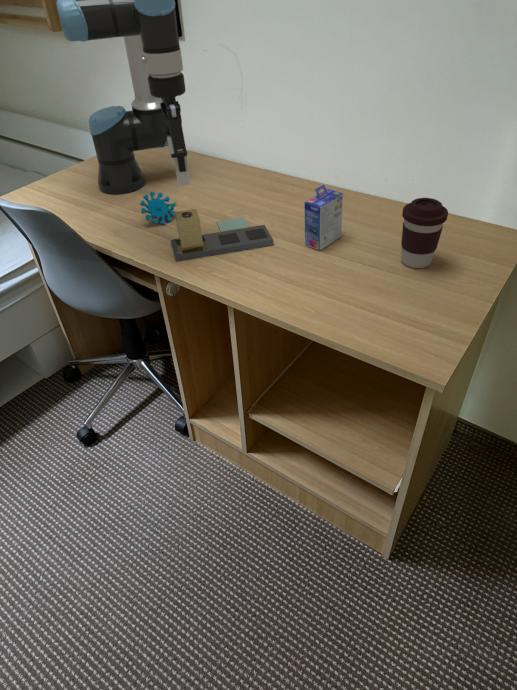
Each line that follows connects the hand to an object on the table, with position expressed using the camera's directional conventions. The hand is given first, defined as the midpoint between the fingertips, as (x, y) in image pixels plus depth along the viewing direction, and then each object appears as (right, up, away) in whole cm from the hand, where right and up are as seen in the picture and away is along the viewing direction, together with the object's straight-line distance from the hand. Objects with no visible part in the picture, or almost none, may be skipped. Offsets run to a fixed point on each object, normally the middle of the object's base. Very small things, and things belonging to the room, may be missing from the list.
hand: (180, 173), depth 117 cm
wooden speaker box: (+1, -15, +13) cm, 21 cm away
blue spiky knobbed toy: (-10, -4, +28) cm, 30 cm away
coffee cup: (+57, -20, +4) cm, 61 cm away
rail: (+9, -14, +15) cm, 22 cm away
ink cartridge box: (+36, -13, +14) cm, 40 cm away
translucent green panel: (+11, -7, +22) cm, 26 cm away
